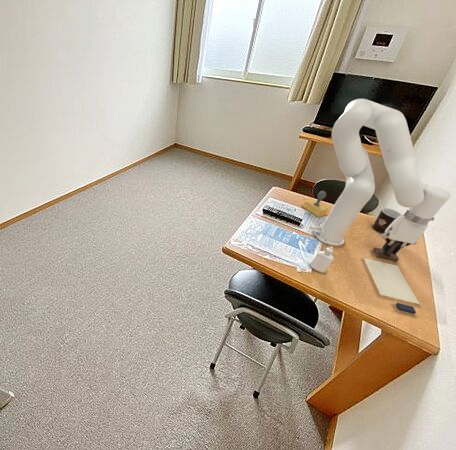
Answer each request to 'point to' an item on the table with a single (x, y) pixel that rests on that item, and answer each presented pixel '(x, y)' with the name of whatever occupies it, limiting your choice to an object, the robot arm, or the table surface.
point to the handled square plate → (389, 255)
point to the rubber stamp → (316, 205)
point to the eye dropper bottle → (322, 260)
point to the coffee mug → (385, 219)
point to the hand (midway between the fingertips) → (388, 251)
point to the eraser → (405, 308)
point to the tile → (390, 281)
